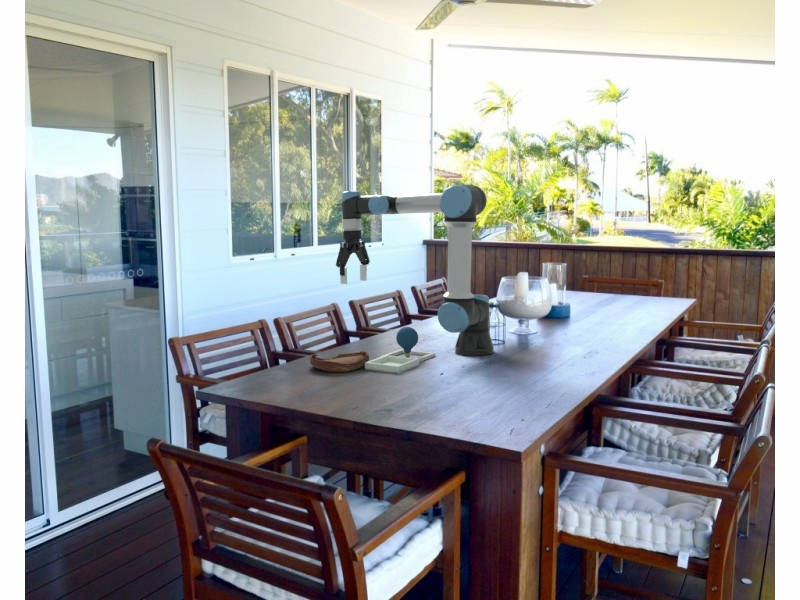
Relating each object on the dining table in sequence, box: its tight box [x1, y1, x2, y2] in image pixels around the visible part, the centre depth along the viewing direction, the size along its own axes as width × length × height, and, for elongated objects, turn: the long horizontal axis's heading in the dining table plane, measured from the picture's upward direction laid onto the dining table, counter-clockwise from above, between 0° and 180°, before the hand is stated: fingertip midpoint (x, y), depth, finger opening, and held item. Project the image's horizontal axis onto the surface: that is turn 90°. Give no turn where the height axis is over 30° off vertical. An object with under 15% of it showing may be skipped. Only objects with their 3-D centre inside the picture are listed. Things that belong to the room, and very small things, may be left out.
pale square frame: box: [378, 348, 436, 363], centre depth 266 cm, size 16×16×1 cm
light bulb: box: [395, 326, 419, 358], centre depth 265 cm, size 8×8×12 cm
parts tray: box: [364, 354, 420, 375], centre depth 250 cm, size 14×14×2 cm
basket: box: [309, 350, 370, 373], centre depth 253 cm, size 22×20×5 cm
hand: (353, 282), depth 284 cm, fingers open, 13 cm apart
